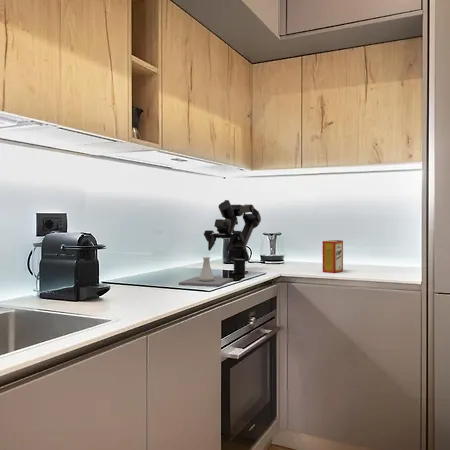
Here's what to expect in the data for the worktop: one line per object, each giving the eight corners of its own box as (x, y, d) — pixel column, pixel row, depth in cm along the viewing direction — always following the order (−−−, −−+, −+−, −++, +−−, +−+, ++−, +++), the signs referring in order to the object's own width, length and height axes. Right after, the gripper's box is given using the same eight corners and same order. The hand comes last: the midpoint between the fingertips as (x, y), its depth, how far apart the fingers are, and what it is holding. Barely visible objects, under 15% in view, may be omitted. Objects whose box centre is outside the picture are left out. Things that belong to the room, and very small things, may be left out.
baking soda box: (334, 273, 230) (334, 240, 230) (322, 272, 234) (322, 240, 234) (342, 271, 238) (342, 239, 237) (331, 270, 242) (331, 239, 241)
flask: (212, 281, 198) (212, 258, 197) (196, 281, 199) (195, 258, 199) (216, 279, 205) (216, 256, 204) (200, 279, 206) (200, 256, 206)
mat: (196, 279, 214) (196, 276, 214) (233, 280, 208) (233, 278, 208) (178, 284, 197) (178, 282, 197) (218, 286, 191) (218, 284, 191)
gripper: (205, 213, 219) (193, 238, 209) (241, 212, 210) (230, 238, 201) (213, 229, 226) (202, 254, 216) (248, 229, 217) (238, 255, 208)
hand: (217, 250), depth 210 cm, fingers open, 9 cm apart
